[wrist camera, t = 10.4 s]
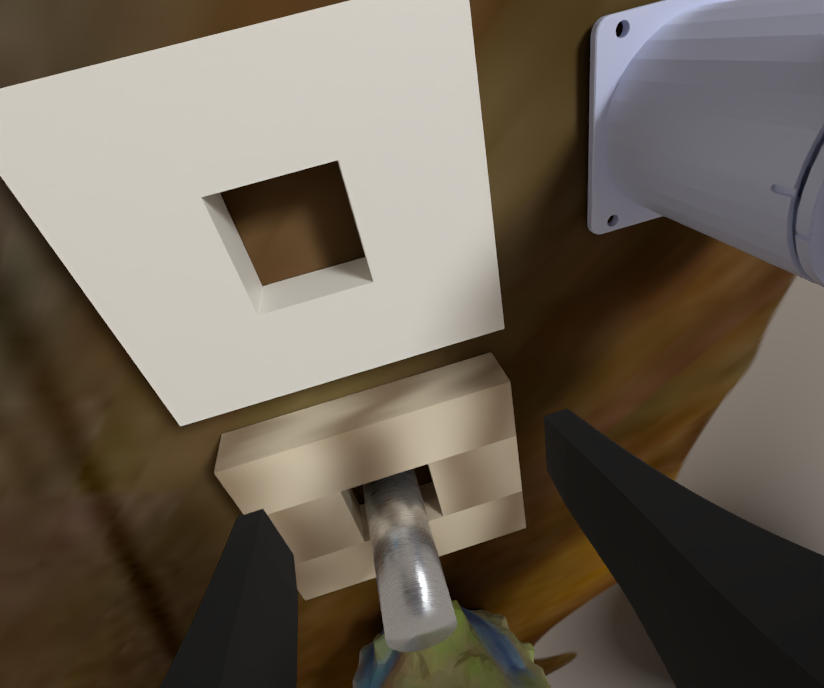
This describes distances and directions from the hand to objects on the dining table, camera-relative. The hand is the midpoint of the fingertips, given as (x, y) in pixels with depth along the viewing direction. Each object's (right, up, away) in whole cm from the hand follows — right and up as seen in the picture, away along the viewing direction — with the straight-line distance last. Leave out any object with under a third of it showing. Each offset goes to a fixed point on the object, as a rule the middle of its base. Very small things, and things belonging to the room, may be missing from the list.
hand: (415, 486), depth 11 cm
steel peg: (-2, -4, +15) cm, 15 cm away
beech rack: (-2, -4, +15) cm, 15 cm away
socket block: (-5, +8, +6) cm, 11 cm away
